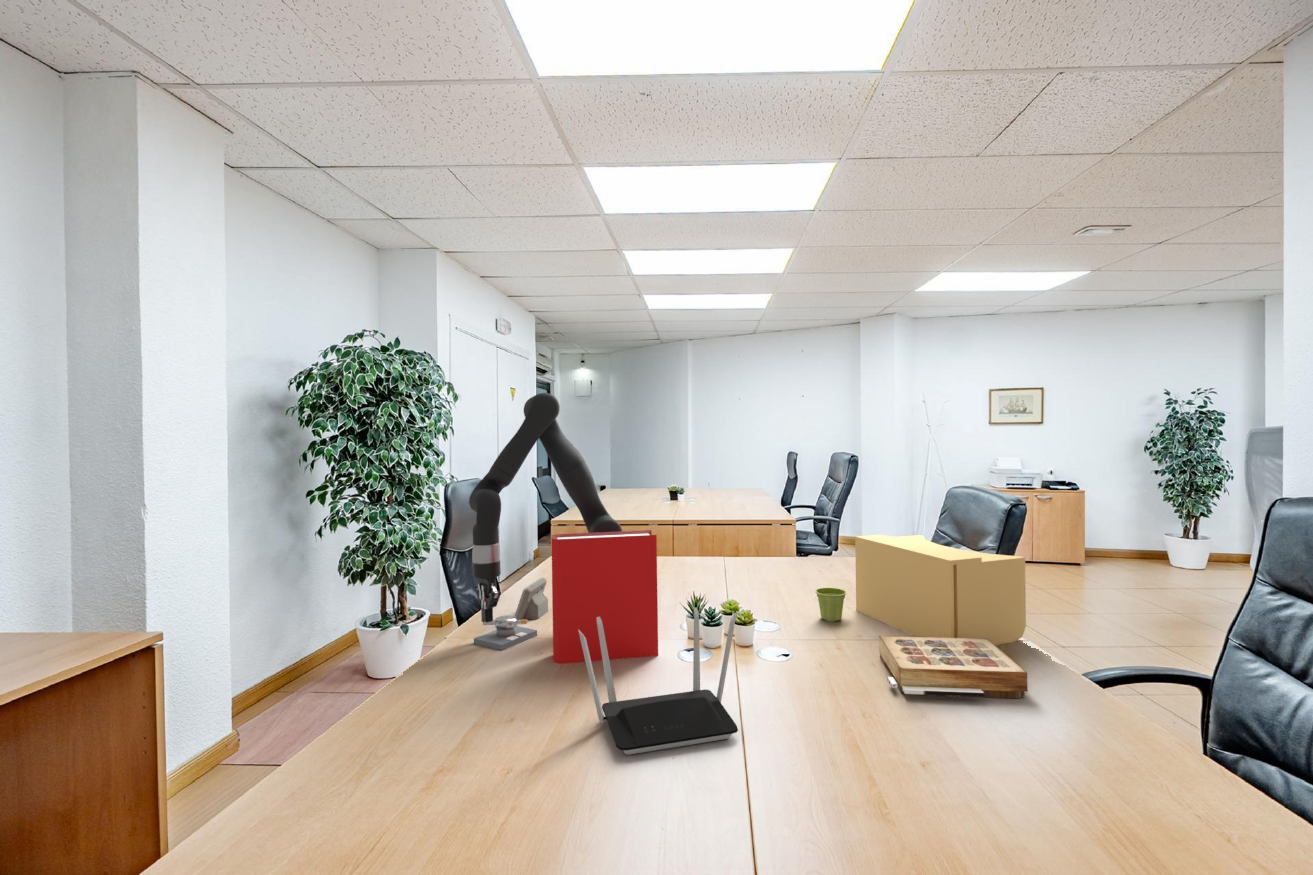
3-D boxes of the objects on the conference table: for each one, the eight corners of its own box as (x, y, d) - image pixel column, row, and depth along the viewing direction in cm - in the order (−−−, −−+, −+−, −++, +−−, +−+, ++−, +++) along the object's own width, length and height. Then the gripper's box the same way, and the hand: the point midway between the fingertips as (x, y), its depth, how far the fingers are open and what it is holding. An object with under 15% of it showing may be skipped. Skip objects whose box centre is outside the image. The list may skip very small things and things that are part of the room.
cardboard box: (856, 610, 196) (855, 536, 196) (920, 602, 204) (920, 531, 204) (951, 652, 158) (950, 560, 158) (1026, 640, 166) (1025, 553, 166)
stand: (537, 635, 176) (536, 622, 176) (501, 650, 164) (501, 636, 164) (509, 629, 182) (509, 617, 182) (473, 643, 170) (473, 630, 170)
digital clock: (534, 606, 206) (534, 575, 206) (557, 609, 202) (556, 577, 202) (505, 620, 191) (505, 587, 190) (529, 623, 187) (529, 589, 187)
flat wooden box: (895, 702, 131) (1034, 707, 127) (894, 673, 131) (1033, 677, 127) (871, 660, 155) (987, 663, 151) (871, 635, 155) (986, 638, 151)
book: (652, 645, 166) (651, 530, 166) (658, 655, 158) (656, 534, 158) (553, 653, 161) (551, 534, 161) (553, 664, 154) (551, 539, 153)
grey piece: (525, 628, 170) (524, 600, 170) (478, 629, 169) (478, 601, 169) (529, 621, 176) (528, 594, 176) (484, 622, 175) (483, 595, 175)
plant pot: (814, 622, 184) (814, 594, 184) (816, 613, 193) (815, 586, 193) (846, 624, 182) (846, 596, 182) (846, 615, 191) (846, 588, 191)
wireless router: (590, 765, 106) (588, 653, 106) (573, 708, 128) (571, 615, 128) (764, 737, 115) (763, 633, 115) (720, 688, 137) (718, 601, 137)
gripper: (509, 560, 166) (511, 623, 166) (489, 554, 176) (490, 613, 176) (483, 565, 161) (485, 629, 161) (464, 558, 171) (466, 619, 171)
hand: (488, 621), depth 168 cm, fingers closed
